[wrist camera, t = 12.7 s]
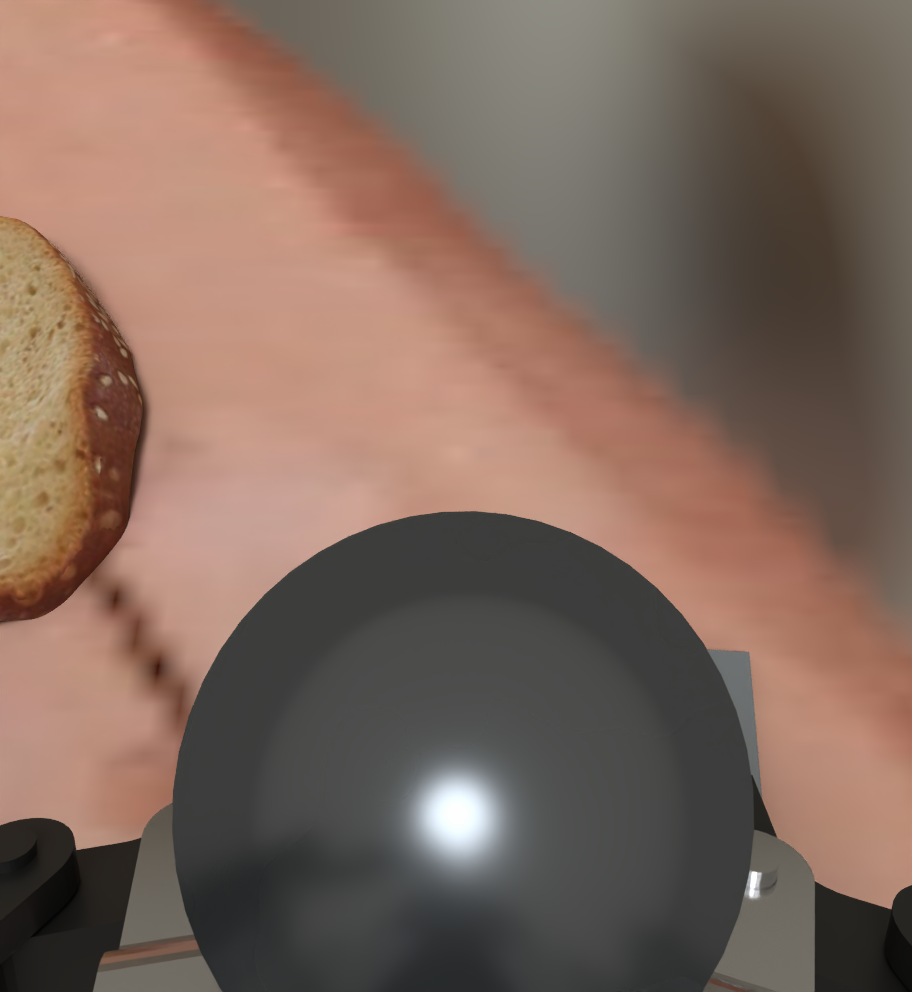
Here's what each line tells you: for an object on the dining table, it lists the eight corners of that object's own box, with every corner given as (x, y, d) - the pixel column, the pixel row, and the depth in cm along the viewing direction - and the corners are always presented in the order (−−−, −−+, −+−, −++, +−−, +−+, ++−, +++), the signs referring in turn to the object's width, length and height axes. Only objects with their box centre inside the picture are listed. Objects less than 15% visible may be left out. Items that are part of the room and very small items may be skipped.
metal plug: (384, 975, 18) (108, 1090, 6) (404, 763, 20) (231, 502, 8) (590, 991, 18) (784, 1159, 5) (590, 775, 20) (730, 520, 7)
